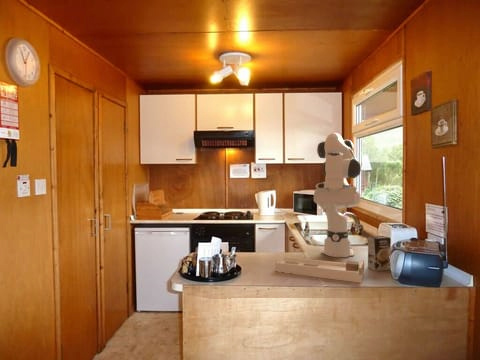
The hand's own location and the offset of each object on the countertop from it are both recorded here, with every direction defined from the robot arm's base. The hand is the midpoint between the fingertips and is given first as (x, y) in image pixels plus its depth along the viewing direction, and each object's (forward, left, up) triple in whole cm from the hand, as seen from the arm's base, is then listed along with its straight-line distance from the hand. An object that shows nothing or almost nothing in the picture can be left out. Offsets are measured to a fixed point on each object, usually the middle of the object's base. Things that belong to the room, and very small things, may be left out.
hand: (334, 212), depth 167 cm
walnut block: (+8, +9, -26) cm, 29 cm away
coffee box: (-12, +20, -29) cm, 38 cm away
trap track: (+7, -6, -29) cm, 31 cm away
